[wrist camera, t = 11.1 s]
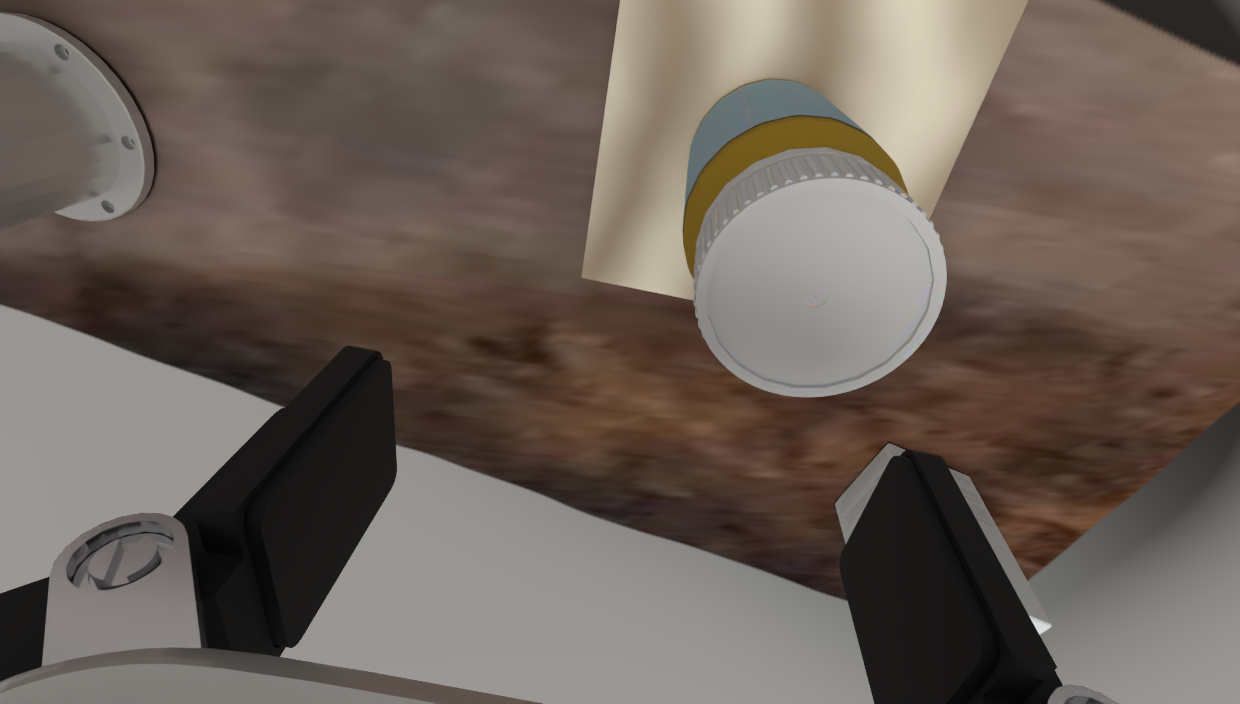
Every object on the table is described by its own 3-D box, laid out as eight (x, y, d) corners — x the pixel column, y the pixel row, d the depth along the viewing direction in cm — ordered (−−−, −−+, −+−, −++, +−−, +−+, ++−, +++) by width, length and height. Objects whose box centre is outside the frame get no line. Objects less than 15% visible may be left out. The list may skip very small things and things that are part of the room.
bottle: (730, 254, 30) (750, 444, 18) (661, 130, 28) (627, 248, 15) (866, 185, 28) (1003, 348, 15) (805, 42, 25) (910, 93, 12)
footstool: (601, 230, 38) (581, 277, 32) (647, -70, 30) (632, -87, 24) (847, 279, 38) (875, 336, 32) (962, -10, 30) (1033, -11, 23)
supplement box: (831, 502, 48) (868, 650, 37) (888, 439, 44) (948, 582, 33) (910, 536, 49) (969, 690, 38) (973, 476, 45) (1058, 628, 34)
